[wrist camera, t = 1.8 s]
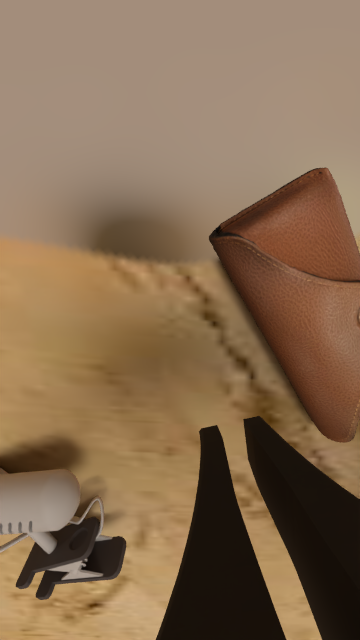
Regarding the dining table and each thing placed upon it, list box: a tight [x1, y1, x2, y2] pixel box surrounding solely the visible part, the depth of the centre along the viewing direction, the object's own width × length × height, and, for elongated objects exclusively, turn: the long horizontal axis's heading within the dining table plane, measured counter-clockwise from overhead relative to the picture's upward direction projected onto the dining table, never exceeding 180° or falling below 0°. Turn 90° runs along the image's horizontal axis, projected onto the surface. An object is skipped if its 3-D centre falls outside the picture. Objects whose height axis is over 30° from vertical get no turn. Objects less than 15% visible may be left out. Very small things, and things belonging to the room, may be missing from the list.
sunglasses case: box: [209, 168, 360, 442], centre depth 19 cm, size 18×7×7 cm
